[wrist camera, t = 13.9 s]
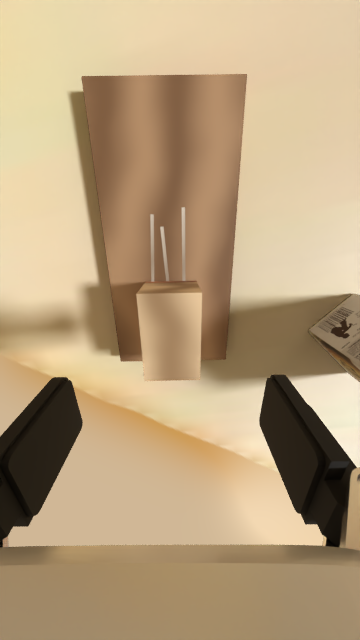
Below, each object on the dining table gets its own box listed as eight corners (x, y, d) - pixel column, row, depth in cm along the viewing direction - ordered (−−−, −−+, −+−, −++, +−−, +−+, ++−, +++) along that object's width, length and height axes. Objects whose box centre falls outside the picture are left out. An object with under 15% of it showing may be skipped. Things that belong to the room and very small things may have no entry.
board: (240, 88, 16) (246, 74, 15) (222, 352, 25) (225, 359, 24) (89, 90, 16) (81, 76, 15) (124, 354, 25) (120, 361, 24)
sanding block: (196, 280, 20) (202, 292, 16) (195, 351, 23) (200, 379, 18) (145, 281, 20) (136, 293, 16) (151, 352, 23) (144, 380, 18)
